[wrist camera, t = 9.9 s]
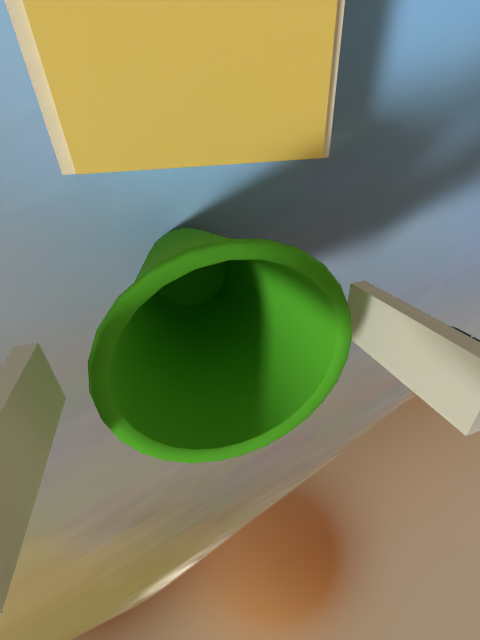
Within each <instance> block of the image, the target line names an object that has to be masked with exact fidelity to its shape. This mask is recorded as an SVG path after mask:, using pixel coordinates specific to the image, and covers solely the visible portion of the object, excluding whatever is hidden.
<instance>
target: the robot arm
mask: <svg viewBox="0 0 480 640" xmlns="http://www.w3.org/2000/svg"><path fill="white" fill-rule="evenodd" d="M348 307H349V310H350V313H351V329H352V338H351V340H353V341H354V342H355V343H356V344H357V345H358V346H360V347H361V348H362V349H363V350H364V351H366V352H367V353H368V354H369V355H370V356H372V357H373V358H374V359H375V360H376V361H378V362H379V363H380V364H381V365H382V366H383V367H385V368H386V369H387V370H388V371H389V372H391V373H392V374H393V375H394V376H395V377H397V378H398V379H399V380H400V381H401V382H402V383H404V384H405V385H406V386H407V387H408V388H410V389H411V390H412V391H413V392H414V393H416V394H417V395H418V396H419V397H420V398H422V399H423V400H424V401H425V402H426V403H427V404H429V405H430V406H431V407H432V408H434V409H435V410H436V411H437V412H438V413H439V414H440V415H442V416H443V417H444V418H445V419H447V420H448V421H449V422H450V423H451V424H453V425H454V426H455V427H456V428H457V429H459V431H461V432H462V433H463V434H464V435H466V436H467V435H470V434H472V433H475V432H477V431H480V340H478V339H476V338H474V337H471V335H469V334H467V333H465V332H463V331H461V330H459V329H457V328H455V327H452V326H449V325H447V324H445V323H443V322H441V321H439V320H437V319H436V318H434V317H432V316H430V315H428V314H426V313H424V312H422V311H421V310H419V309H417V308H415V307H413V306H411V305H409V304H407V303H406V302H404V301H402V300H400V299H398V298H396V297H394V296H392V295H391V294H389V293H387V292H385V291H383V290H381V289H379V288H377V287H376V286H374V285H372V284H370V283H368V282H366V281H360V282H355V283H351V285H350V291H349V298H348ZM65 399H66V397H65V395H64V393H63V391H62V389H61V387H60V385H59V383H58V381H57V379H56V377H55V375H54V373H53V371H52V369H51V367H50V365H49V363H48V361H47V359H46V357H45V355H44V353H43V351H42V349H41V347H40V345H39V343H33V344H28V345H22V346H17V347H14V348H13V349H12V351H11V352H10V354H9V355H8V357H7V358H6V360H5V361H4V363H3V364H2V366H1V367H0V614H1V613H2V610H3V606H4V603H5V600H6V596H7V593H8V590H9V586H10V583H11V580H12V576H13V573H14V569H15V566H16V563H17V559H18V556H19V553H20V549H21V546H22V543H23V539H24V536H25V533H26V529H27V526H28V523H29V519H30V516H31V513H32V509H33V506H34V502H35V499H36V496H37V492H38V489H39V486H40V482H41V479H42V476H43V472H44V469H45V466H46V462H47V459H48V456H49V452H50V449H51V445H52V442H53V439H54V435H55V432H56V429H57V425H58V422H59V419H60V415H61V412H62V409H63V405H64V402H65Z"/></svg>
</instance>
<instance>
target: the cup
mask: <svg viewBox="0 0 480 640" xmlns="http://www.w3.org/2000/svg"><path fill="white" fill-rule="evenodd" d="M351 338H352V329H351V313H350V310H349V307H348V304H347V301H346V298H345V296H344V293H343V290H342V287H341V285H340V284H339V282H338V281H337V280H336V279H335V277H334V276H333V275H332V274H331V272H330V271H329V270H328V269H327V267H326V266H325V265H324V264H323V263H321V262H320V261H318V260H317V259H315V258H313V257H312V256H310V255H309V254H307V253H306V252H304V251H303V250H301V249H300V248H297V247H293V246H289V245H286V244H282V243H279V242H275V241H272V240H268V239H229V238H226V237H223V236H220V235H216V234H213V233H210V232H207V231H203V230H200V229H196V228H181V229H177V230H173V231H171V232H169V233H167V234H165V235H163V236H162V237H161V238H160V239H159V240H158V241H157V242H155V244H154V246H153V247H152V249H151V250H150V252H149V254H148V256H147V258H146V260H145V262H144V264H143V266H142V268H141V270H140V272H139V274H138V276H137V278H136V280H135V282H134V283H133V284H132V285H131V286H130V287H129V288H128V289H127V290H125V291H124V292H123V293H122V294H121V295H120V296H119V297H118V298H117V299H116V301H115V302H114V304H113V306H112V307H111V309H110V310H109V312H108V313H107V315H106V316H105V318H104V319H103V321H102V323H101V324H100V326H99V327H98V329H97V331H96V335H95V338H94V342H93V345H92V349H91V352H90V356H89V360H88V375H89V392H90V394H91V397H92V399H93V401H94V404H95V406H96V408H97V410H98V413H99V415H100V417H101V419H102V420H103V422H104V423H105V424H106V425H107V426H108V427H109V428H110V430H111V431H112V432H113V433H114V434H115V435H116V436H117V437H118V438H119V439H120V440H121V441H122V442H124V443H126V444H127V445H129V446H131V447H132V448H134V449H136V450H137V451H139V452H141V453H142V454H146V455H149V456H152V457H156V458H159V459H162V460H166V461H174V462H185V463H199V462H211V461H220V460H224V459H228V458H232V457H236V456H240V455H244V454H246V453H249V452H251V451H254V450H256V449H259V448H261V447H264V446H266V445H268V444H270V443H271V442H273V441H275V440H277V439H278V438H280V437H282V436H284V435H285V434H287V433H288V432H290V431H291V430H292V429H294V428H295V427H296V426H298V425H299V424H300V423H301V422H303V421H304V420H305V419H307V418H308V417H309V416H310V415H311V414H312V413H313V411H314V410H315V409H316V408H317V407H318V406H319V405H320V404H321V403H322V402H323V401H324V400H325V398H326V397H327V395H328V394H329V393H330V391H331V390H332V388H333V387H334V385H335V384H336V382H337V381H338V379H339V377H340V374H341V372H342V370H343V368H344V365H345V363H346V361H347V358H348V353H349V348H350V343H351Z"/></svg>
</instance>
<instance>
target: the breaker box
mask: <svg viewBox="0 0 480 640" xmlns="http://www.w3.org/2000/svg"><path fill="white" fill-rule="evenodd" d="M5 3H6V6H7V9H8V12H9V15H10V18H11V21H12V24H13V27H14V30H15V33H16V36H17V39H18V42H19V45H20V48H21V51H22V54H23V57H24V60H25V63H26V66H27V69H28V72H29V75H30V78H31V81H32V84H33V87H34V90H35V93H36V96H37V99H38V102H39V105H40V108H41V111H42V114H43V117H44V120H45V123H46V126H47V129H48V132H49V135H50V139H51V142H52V145H53V148H54V151H55V154H56V157H57V160H58V163H59V166H60V169H61V172H62V175H66V174H88V173H103V172H119V171H134V170H149V169H165V168H180V167H195V166H210V165H226V164H241V163H256V162H272V161H287V160H302V159H317V158H328V157H329V150H330V140H331V131H332V121H333V112H334V102H335V92H336V83H337V73H338V64H339V54H340V44H341V35H342V25H343V16H344V6H345V0H5Z"/></svg>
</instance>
